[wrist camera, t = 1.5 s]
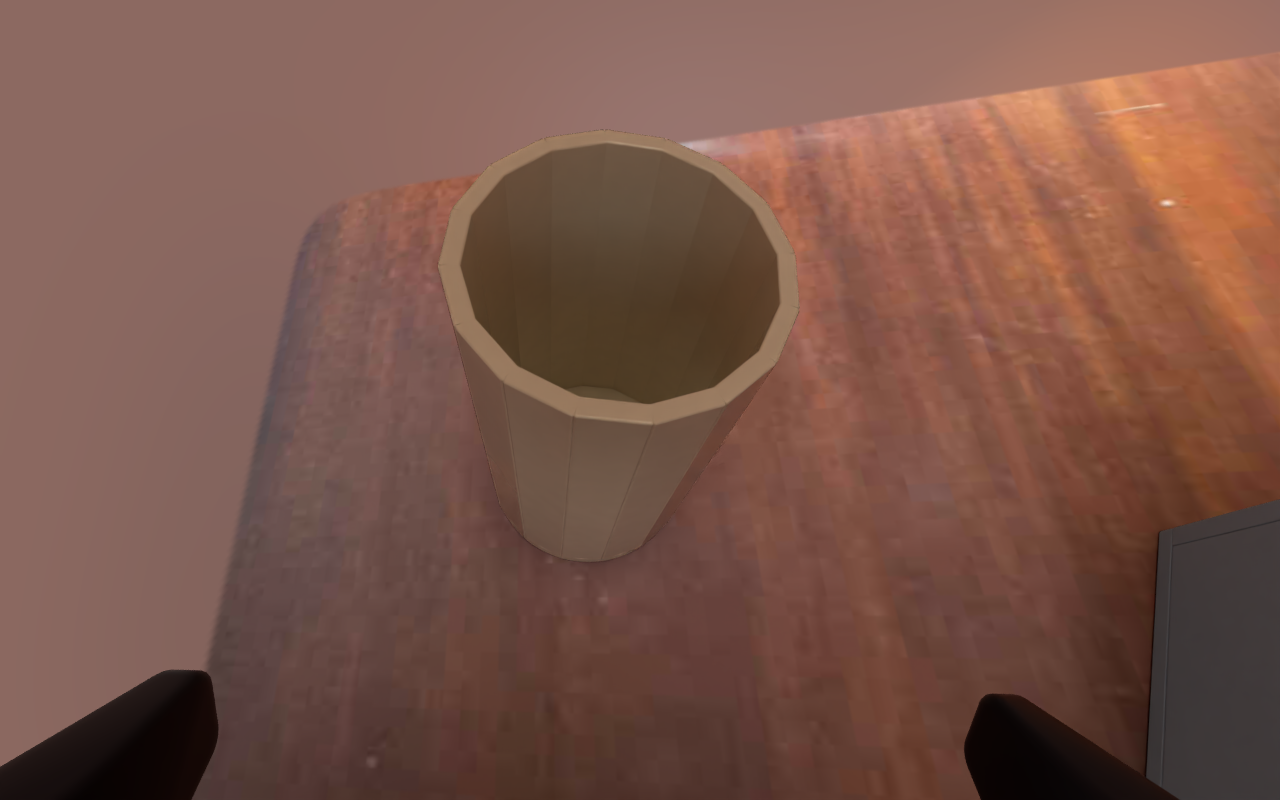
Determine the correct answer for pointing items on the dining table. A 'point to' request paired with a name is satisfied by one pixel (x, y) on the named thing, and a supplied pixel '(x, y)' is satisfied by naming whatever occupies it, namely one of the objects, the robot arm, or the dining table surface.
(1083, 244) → the dining table surface
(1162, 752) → the tub
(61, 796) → the robot arm
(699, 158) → the tumbler
